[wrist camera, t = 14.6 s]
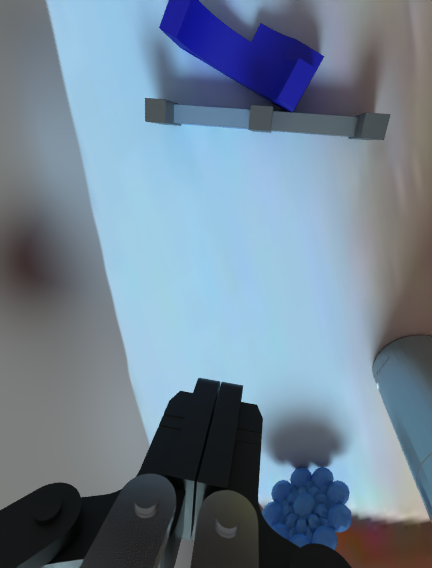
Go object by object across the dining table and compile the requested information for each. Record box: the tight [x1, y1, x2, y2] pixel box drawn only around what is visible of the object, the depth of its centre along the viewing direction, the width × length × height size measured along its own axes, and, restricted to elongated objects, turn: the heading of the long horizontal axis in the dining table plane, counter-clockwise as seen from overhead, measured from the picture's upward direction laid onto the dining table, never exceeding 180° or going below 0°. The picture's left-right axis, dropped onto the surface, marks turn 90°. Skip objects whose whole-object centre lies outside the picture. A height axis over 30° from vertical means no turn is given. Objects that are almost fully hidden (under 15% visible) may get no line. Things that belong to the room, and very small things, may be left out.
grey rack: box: [145, 98, 390, 140], centre depth 26 cm, size 20×18×5 cm
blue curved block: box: [159, 0, 324, 113], centre depth 27 cm, size 12×4×6 cm, turn 62°
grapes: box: [262, 467, 352, 550], centre depth 43 cm, size 12×7×12 cm, turn 110°
